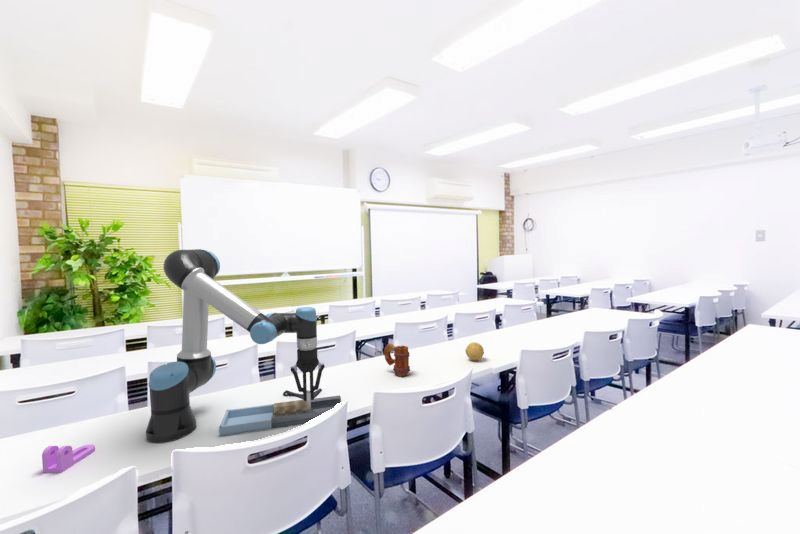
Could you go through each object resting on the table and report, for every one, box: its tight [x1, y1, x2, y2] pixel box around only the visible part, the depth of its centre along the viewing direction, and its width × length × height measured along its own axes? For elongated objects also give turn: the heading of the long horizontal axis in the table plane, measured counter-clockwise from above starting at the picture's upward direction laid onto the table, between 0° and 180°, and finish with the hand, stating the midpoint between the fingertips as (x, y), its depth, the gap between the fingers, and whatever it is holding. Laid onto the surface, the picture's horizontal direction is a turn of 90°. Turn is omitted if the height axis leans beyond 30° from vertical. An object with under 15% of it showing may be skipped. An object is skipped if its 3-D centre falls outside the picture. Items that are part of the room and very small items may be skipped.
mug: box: [383, 343, 411, 377], centre depth 184 cm, size 15×8×15 cm, turn 58°
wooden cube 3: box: [295, 399, 307, 412], centre depth 139 cm, size 4×4×4 cm
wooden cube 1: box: [273, 401, 286, 415], centre depth 137 cm, size 4×4×4 cm
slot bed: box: [271, 395, 342, 430], centre depth 140 cm, size 26×14×4 cm, turn 106°
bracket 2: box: [282, 387, 323, 400], centre depth 158 cm, size 14×15×3 cm
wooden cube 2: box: [284, 400, 296, 413], centre depth 138 cm, size 4×4×4 cm
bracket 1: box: [41, 444, 96, 474], centre depth 112 cm, size 13×6×7 cm, turn 179°
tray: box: [218, 403, 274, 437], centre depth 134 cm, size 17×14×3 cm
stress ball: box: [465, 342, 485, 362], centre depth 203 cm, size 10×10×10 cm
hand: (308, 408), depth 140 cm, fingers closed
